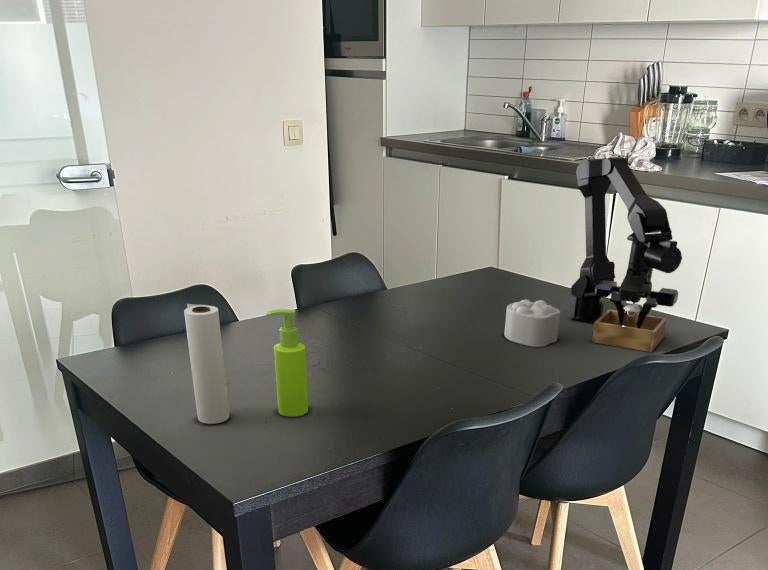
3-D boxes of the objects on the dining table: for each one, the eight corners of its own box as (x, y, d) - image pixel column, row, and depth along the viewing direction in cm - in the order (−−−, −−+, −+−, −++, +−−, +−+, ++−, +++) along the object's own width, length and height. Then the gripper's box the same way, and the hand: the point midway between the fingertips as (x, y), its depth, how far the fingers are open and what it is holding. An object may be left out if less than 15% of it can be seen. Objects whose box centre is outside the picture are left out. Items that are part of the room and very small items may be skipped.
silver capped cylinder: (637, 337, 193) (644, 297, 188) (636, 344, 189) (643, 303, 184) (619, 335, 194) (625, 296, 189) (617, 342, 190) (624, 301, 185)
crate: (591, 342, 190) (594, 322, 187) (605, 328, 199) (608, 309, 197) (651, 352, 184) (655, 331, 181) (663, 337, 193) (667, 318, 191)
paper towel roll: (228, 424, 147) (216, 313, 136) (195, 425, 146) (181, 314, 135) (231, 409, 153) (220, 301, 142) (200, 410, 152) (187, 302, 141)
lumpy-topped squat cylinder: (538, 348, 185) (542, 313, 181) (494, 336, 193) (497, 302, 189) (561, 338, 192) (566, 304, 187) (518, 327, 199) (522, 293, 195)
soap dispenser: (273, 405, 155) (266, 306, 144) (308, 404, 155) (303, 305, 145) (272, 417, 150) (265, 315, 139) (308, 416, 150) (303, 314, 140)
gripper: (592, 265, 180) (583, 330, 188) (674, 275, 172) (661, 343, 180) (605, 256, 188) (596, 319, 196) (684, 265, 180) (671, 330, 188)
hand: (629, 328), depth 190 cm, fingers closed on silver capped cylinder, 4 cm apart
